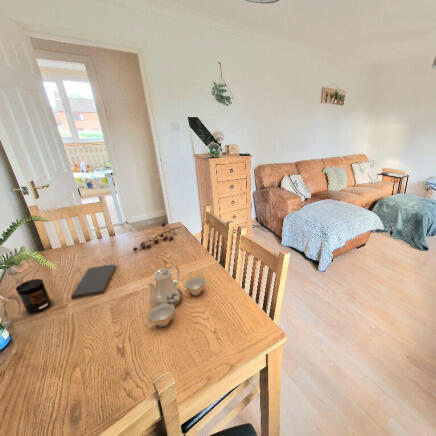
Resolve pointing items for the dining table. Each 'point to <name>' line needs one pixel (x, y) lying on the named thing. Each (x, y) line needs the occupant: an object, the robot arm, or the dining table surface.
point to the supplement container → (34, 295)
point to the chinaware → (169, 295)
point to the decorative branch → (157, 238)
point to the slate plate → (94, 281)
